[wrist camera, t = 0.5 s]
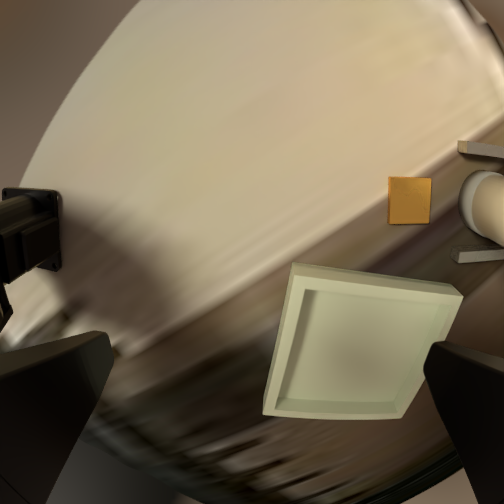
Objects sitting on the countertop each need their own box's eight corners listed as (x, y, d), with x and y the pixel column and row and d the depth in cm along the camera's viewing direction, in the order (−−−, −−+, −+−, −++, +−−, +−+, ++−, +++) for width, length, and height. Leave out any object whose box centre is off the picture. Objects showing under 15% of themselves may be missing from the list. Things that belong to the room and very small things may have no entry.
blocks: (384, 261, 20) (390, 268, 19) (387, 134, 17) (394, 134, 16) (496, 253, 19) (504, 259, 18) (505, 147, 16) (515, 148, 15)
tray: (263, 396, 25) (262, 414, 23) (292, 261, 20) (294, 275, 18) (395, 402, 24) (401, 418, 22) (450, 283, 20) (463, 296, 18)
